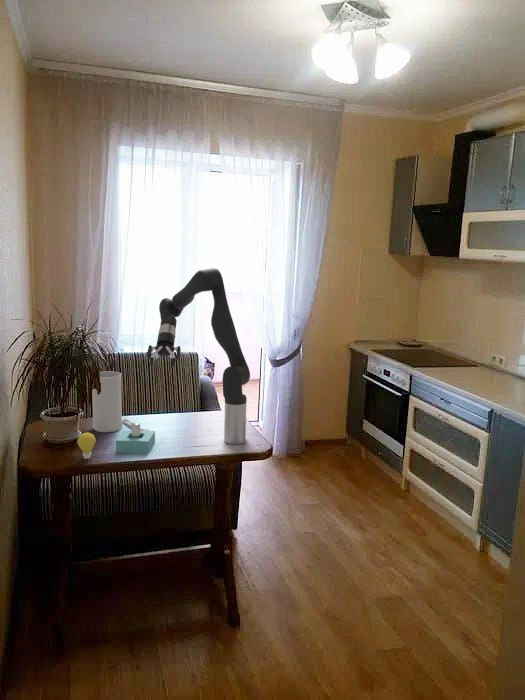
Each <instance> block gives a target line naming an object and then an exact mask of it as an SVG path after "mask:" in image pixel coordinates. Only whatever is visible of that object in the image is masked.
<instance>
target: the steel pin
mask: <svg viewBox="0 0 525 700" xmlns="http://www.w3.org/2000/svg"><path fill="white" fill-rule="evenodd" d="M140 428H141V423H140V422H132V424H131V428H130V430H131V438H140Z"/></svg>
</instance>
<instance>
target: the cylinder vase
mask: <svg viewBox="0 0 525 700" xmlns="http://www.w3.org/2000/svg"><path fill="white" fill-rule="evenodd" d="M99 372H100V383H101V392H100V394H99V395H98V394H97V390H96V389H93V390H91V391H92V392H91V393H92V394H91V395H92V397H91V398H92V428H93V430H94V431H95V432H98V433H113V432H117V431H120V430H121V429H122V426H123V422H122V420H123V414H122V411H123V409H122V407H123V405H122V404H123V403H122V373H121V372H119V371H113V370H112V371H99Z"/></svg>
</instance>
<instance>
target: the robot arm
mask: <svg viewBox="0 0 525 700" xmlns="http://www.w3.org/2000/svg"><path fill="white" fill-rule="evenodd" d="M210 291H211V293H212V297H213V307H212V308H213V309H212V313H211V317H210V318H211V319H210V324H211V327H212V331H213V335H214V337H215V340H216V341H217V344H219V346H220V347H221V348H222V350H223V351H224V352H225V354H226V356H227V358H228V361H229V365H230V366H227V367H226V368H225V369H224V370H223V373H222V395H223V399H224V425H223V426H224V427H223V429H224V430H223V431H224V432H223V441H224V442H225V444H230V445H241V444H246V442H247V441H246V440H247V402H248V401H247V395H245V393H243V386H244V385H246V384H247V383H249V381H250V379H251V371H250V368H249V365H248V363H247V361H246V358H245V356H244V354H243V351H242V348H241V344H240V341H239V338H238V334H237V331H236V327H235V323H234V321H233V320H234V319H233V318H232V317H233V316H232V314H231V311H230V308H229V304H228V298H227V294H226V288H225V284H224V279H223V276H222V273H221V271H220V270H219V269H218V268H216V267H212V268H203V269H200V270H197V271H196V273H195V274H194V275H193V276H192V277H191V279H189V281H188V282H187V283H186V285H185V286H183V288H182V289H180V290H179V291H178V292H177V293H175V294H173V297H171V298H169V297H164V298H162V299H161V301H160V303H159V305H158V308H159V309H158V311H159V315H160V325H159V329H158V334H157V340H156V345H155V346H152V345H151V344H149V345H148V348H147V353H146V358H147V360H149V361H150V362H149V366H150V367H151V369H152V368H153V369H154V365H155V360H156V359H158V358H159V357H170V359H171V363H170V368H171V369H174V368H175V367H176V361H180V360H181V350H182V349H181V346H180V345H177V346H175V342H176V334H177V333H176V330H177V321H178V320H177V318H178V317H180V316H181V314H182V312H183V310H184V309H185V308H186V307H187V306H188V305H190V304H191V303H192V302H193V301H194V299H195V296H196V295H198V294H199V293H203V292H210ZM174 352H176V356H175V354H174Z"/></svg>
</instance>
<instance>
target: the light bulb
mask: <svg viewBox="0 0 525 700" xmlns="http://www.w3.org/2000/svg"><path fill="white" fill-rule="evenodd" d="M77 438H78V439H77V445H78V446H79V448H80V450H81V451H82V456H83V459H85V460H87V459H91V456H92V450H93V449H94V447H95V444H96V443H97V442H96V441H97V440H96V437H95V435H94V434H92V433H91V432H84V433H82V434H80V435H79V436H78V437H77Z"/></svg>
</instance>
